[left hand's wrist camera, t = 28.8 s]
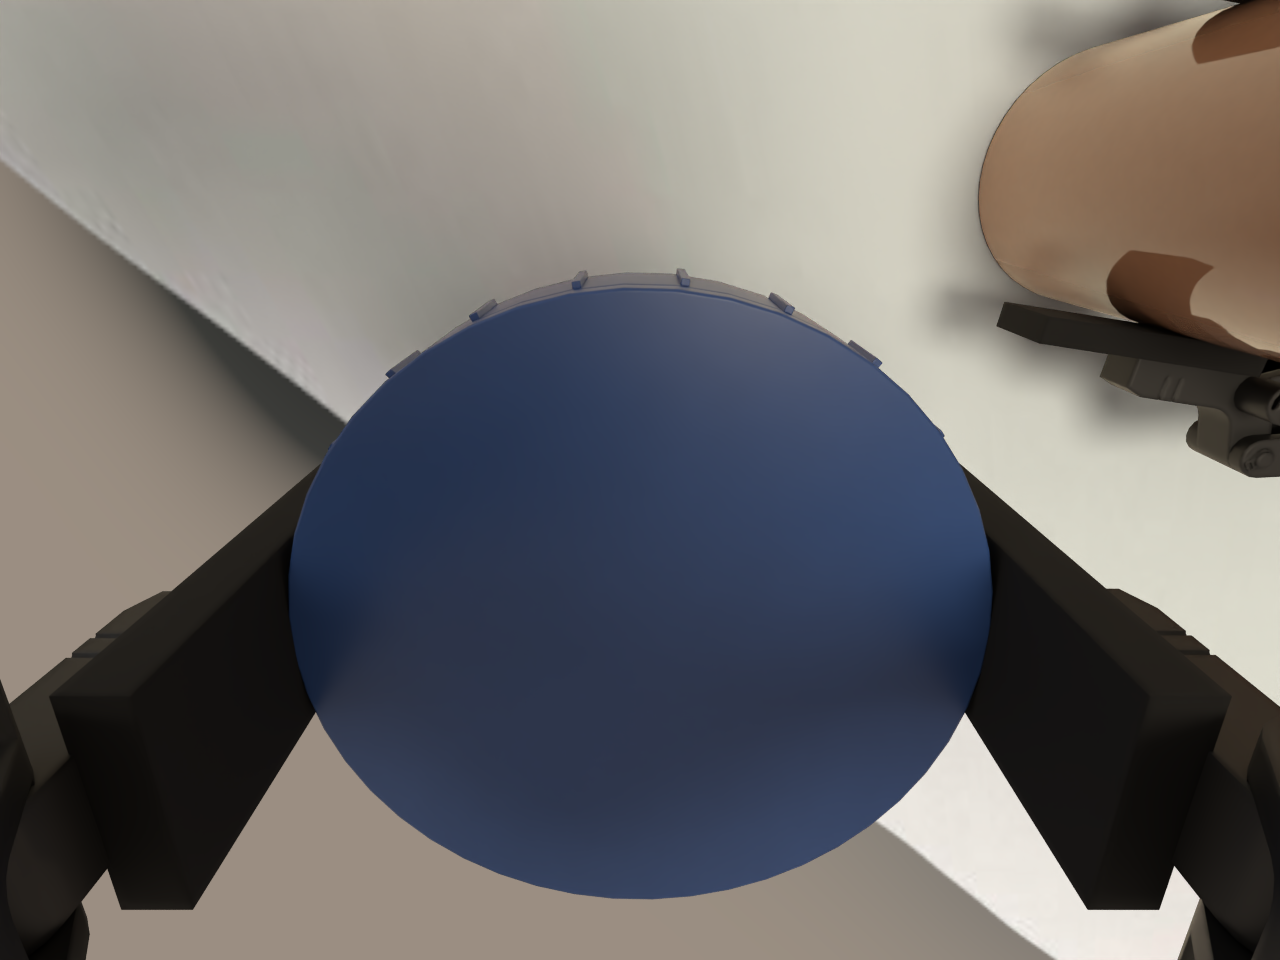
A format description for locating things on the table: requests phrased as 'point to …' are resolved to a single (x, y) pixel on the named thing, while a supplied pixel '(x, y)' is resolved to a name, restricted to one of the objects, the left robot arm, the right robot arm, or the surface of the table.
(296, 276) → the table surface
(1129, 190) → the jar
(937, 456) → the lid
